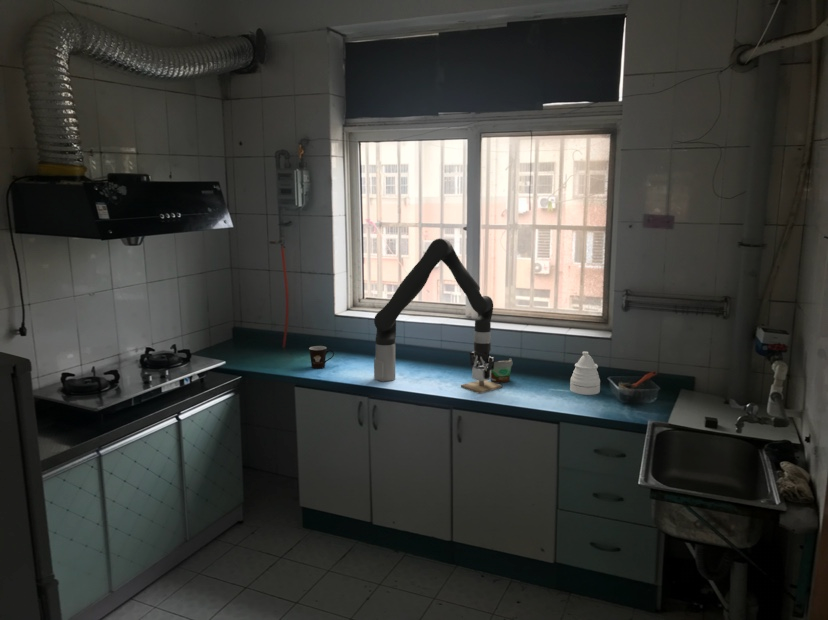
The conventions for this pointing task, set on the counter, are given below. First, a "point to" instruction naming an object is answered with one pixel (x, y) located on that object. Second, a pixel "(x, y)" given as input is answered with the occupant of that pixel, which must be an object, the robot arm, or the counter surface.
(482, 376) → the grey square sleeve
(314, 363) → the coffee mug
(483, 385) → the block
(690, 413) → the counter surface
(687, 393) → the counter surface
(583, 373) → the honey pot
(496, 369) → the food container
